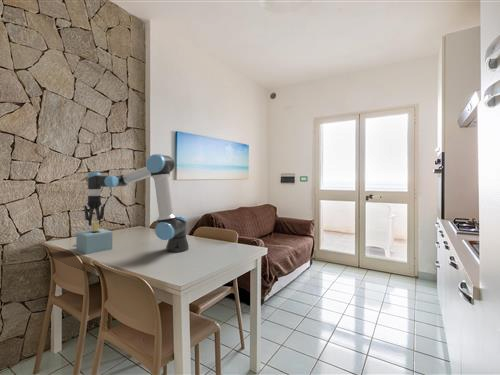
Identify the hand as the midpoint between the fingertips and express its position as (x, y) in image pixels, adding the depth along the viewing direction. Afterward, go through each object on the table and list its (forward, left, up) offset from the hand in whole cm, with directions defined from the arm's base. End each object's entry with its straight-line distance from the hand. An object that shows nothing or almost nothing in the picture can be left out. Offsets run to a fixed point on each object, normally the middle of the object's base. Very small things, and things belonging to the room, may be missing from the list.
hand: (94, 229), depth 176 cm
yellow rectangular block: (0, 0, 0) cm, 1 cm away
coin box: (0, 0, -13) cm, 13 cm away
